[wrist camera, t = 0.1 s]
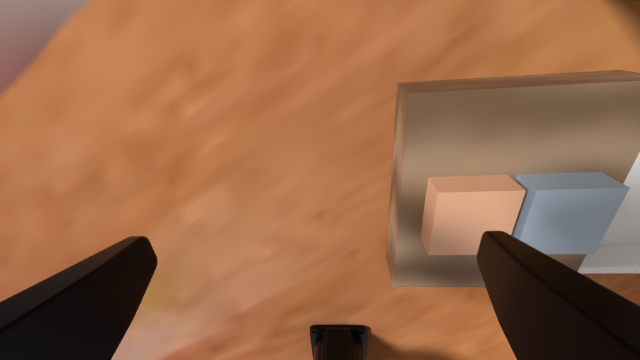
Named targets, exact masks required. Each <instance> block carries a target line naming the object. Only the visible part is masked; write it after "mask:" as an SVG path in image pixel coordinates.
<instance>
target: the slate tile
mask: <svg viewBox="0 0 640 360" xmlns="http://www.w3.org/2000/svg"><path fill="white" fill-rule="evenodd" d="M515 181H516V182H517V183H518V184H519V185H520V186H521V187H523V188H524V189H525V190H526V192H525V195H524V198H523V201H522V204H521V207H520V210H519V213H518V216H517V219H516V222H515V225H514V228H513V231H512V234H511V236H513V237H515V238H517V239H519V240H520V241H522V242H524V243H526V244H528V245H530V246H531V247H533V248H535V249H537V250H539V251H541V252H542V253H544V254H595V252H596V250H597V248H598V246H599V245H600V243H601V241H602V239H603V237H604V235H605V233H606V232H607V230H608V228H609V226H610V224H611V222H612V220H613V218H614V217H615V215H616V213H617V211H618V209H619V207H620V205H621V204H622V202H623V200H624V198H625V196H626V194H627V192H628V191H629V189H630V187H628V186H626V185H624V184H622V183H621V182H619V181H617V180H615V179H613V178H611V177H609V176H608V175H606V174H604V173H602V172H578V173H546V174H517V177H516V180H515Z"/></svg>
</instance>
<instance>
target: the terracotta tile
mask: <svg viewBox="0 0 640 360" xmlns="http://www.w3.org/2000/svg"><path fill="white" fill-rule="evenodd" d="M525 192H526V190H525V189H524V188H523V187H521V186H520V185H519V184H518V183H517V182H516V181H514V180H513V179H512V178H511V177H510V176H509V175H482V176H449V177H428V183H427V191H426V198H425V205H424V213H423V220H422V227H421V235H420V237H421V239H422V242H423V244H424V247H425V249H426V252H427V254H428V255H477V252H478V249H479V245H480V241H481V237H482V235H483V233H484V232H485V231H504V232H506V233H508V234H510V235H511V234H512V231H513V228H514V225H515V222H516V219H517V216H518V213H519V210H520V207H521V204H522V201H523V198H524V195H525Z"/></svg>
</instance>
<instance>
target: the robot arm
mask: <svg viewBox="0 0 640 360" xmlns="http://www.w3.org/2000/svg"><path fill="white" fill-rule="evenodd" d="M477 264H478V267H479V270H480V273H481V275H482V278H483V281H484V283H485V286H486V289H487V292H488V294H489V297H490V300H491V302H492V305H493V308H494V311H495V313H496V316H497V318H498V321H499V323H500V325H501V327H502V330H503V332H504V334H505V336H506V338H507V340H508V342H509V344H510V346H511V348H512V350H513V352H514V354H515V356H516V358H517V360H640V306H639V305H637V304H636V303H634V302H632V301H630V300H628V299H626V298H625V297H623V296H621V295H619V294H617V293H615V292H614V291H612V290H610V289H608V288H606V287H604V286H603V285H601V284H599V283H597V282H595V281H594V280H592V279H590V278H588V277H586V276H584V275H583V274H581V273H579V272H577V271H575V270H573V269H572V268H570V267H568V266H566V265H564V264H562V263H561V262H559V261H557V260H555V259H553V258H552V257H550V256H548V255H546V254H544V253H542V252H541V251H539V250H537V249H535V248H533V247H531V246H530V245H528V244H526V243H524V242H522V241H520V240H519V239H517V238H515V237H513V236H511V235H510V234H508V233H506V232H504V231H485V232H484V233H483V235H482V237H481V241H480V245H479V249H478V252H477ZM156 267H157V256H156V254H155V252H154V250H153V248H152V246H151V243H150V241H149V239H148V238H146V237H144V236H132V237H128V238H126V239H124V240H122V241H120V242H118V243H116V244H114V245H112V246H110V247H108V248H106V249H104V250H102V251H100V252H98V253H96V254H94V255H92V256H90V257H88V258H86V259H84V260H82V261H81V262H79V263H77V264H75V265H73V266H71V267H69V268H67V269H65V270H63V271H61V272H59V273H57V274H55V275H53V276H51V277H49V278H47V279H45V280H43V281H41V282H39V283H37V284H35V285H33V286H31V287H29V288H27V289H25V290H23V291H21V292H19V293H17V294H15V295H13V296H11V297H9V298H7V299H6V300H4V301H2V302H0V360H111V358H112V357H113V355H114V353H115V351H116V349H117V348H118V346H119V344H120V342H121V340H122V339H123V337H124V335H125V333H126V331H127V330H128V328H129V326H130V324H131V322H132V320H133V318H134V316H135V314H136V312H137V310H138V308H139V305H140V303H141V301H142V299H143V296H144V294H145V292H146V290H147V287H148V285H149V283H150V281H151V278H152V276H153V274H154V271H155V269H156ZM310 338H311V345H312V353H313V359H314V360H366V349H367V329H366V327H363V326H311V327H310Z"/></svg>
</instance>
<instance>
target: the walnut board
mask: <svg viewBox="0 0 640 360" xmlns="http://www.w3.org/2000/svg"><path fill="white" fill-rule="evenodd" d="M639 152H640V73H635V72H628V71H621V70H614V71H597V72H579V73H562V74H545V75H528V76H510V77H493V78H476V79H459V80H442V81H424V82H407V83H398V86H397V102H396V117H395V133H394V148H393V164H392V179H391V195H390V210H389V225H388V241H387V256H386V258H387V262H388V267H389V272H390V276H391V281H392V286H393V287H486V286H485V283H484V281H483V278H482V275H481V273H480V270H479V267H478V264H477V255H428V254H427V252H426V249H425V247H424V244H423V242H422V239H421V237H420V235H421V227H422V220H423V213H424V205H425V198H426V191H427V183H428V177H449V176H482V175H509V176H510V177H511V178H512V179H513V180H514V181H515V180H516V177H517V174H546V173H578V172H602V173H604V174H606V175H608V176H609V177H611V178H613V179H615V180H617V181H619V182H621V183H622V184H623V183H624V181H625V179H626V177H627V176H628V174H629V172H630V170H631V168H632V166H633V164H634V162H635V160H636V158H637V156H638V154H639ZM546 255H548V256H550V257H552V258H553V259H555V260H557V261H559V262H561V263H562V264H564V265H566V266H568V267H570V268H572V269H573V270H575V271H577V272H578V270H579V268H580V266H581V264H582V262H583V260H584V258H585V256H586V254H546Z"/></svg>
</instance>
